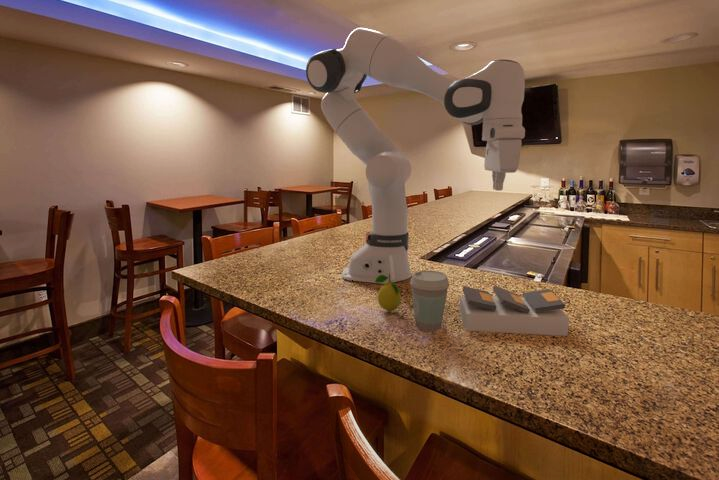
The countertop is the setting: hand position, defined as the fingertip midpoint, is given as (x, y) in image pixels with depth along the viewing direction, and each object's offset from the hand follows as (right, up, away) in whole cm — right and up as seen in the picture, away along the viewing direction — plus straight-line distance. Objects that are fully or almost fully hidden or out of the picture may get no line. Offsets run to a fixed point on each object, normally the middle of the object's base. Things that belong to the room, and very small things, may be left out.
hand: (497, 190), depth 92 cm
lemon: (-27, -31, -1) cm, 41 cm away
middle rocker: (0, -26, -8) cm, 27 cm away
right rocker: (+7, -26, -9) cm, 28 cm away
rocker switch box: (0, -32, -7) cm, 32 cm away
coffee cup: (-19, -32, -9) cm, 38 cm away
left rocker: (-7, -26, -7) cm, 28 cm away
